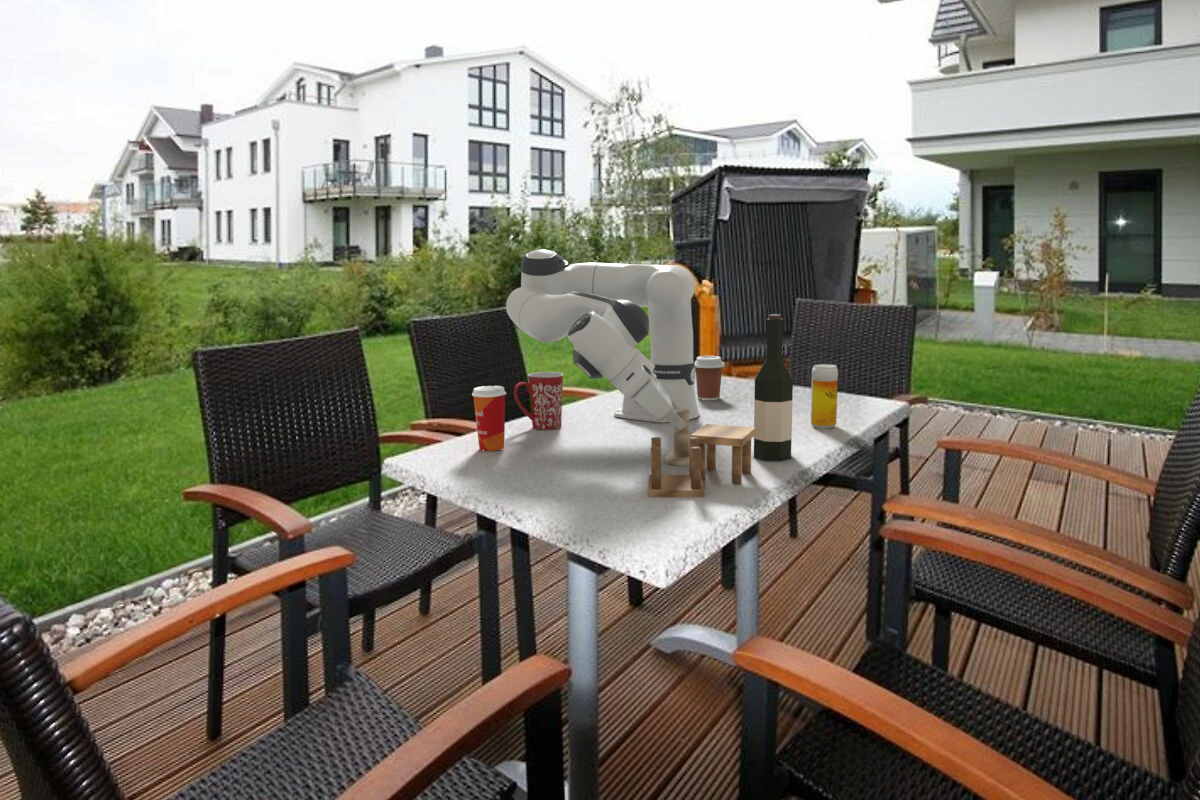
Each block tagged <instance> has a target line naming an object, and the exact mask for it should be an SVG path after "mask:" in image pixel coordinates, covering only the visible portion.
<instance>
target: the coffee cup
mask: <svg viewBox="0 0 1200 800" xmlns="http://www.w3.org/2000/svg"><path fill="white" fill-rule="evenodd" d="M693 362H694V361H693ZM694 363H695V383H696V393H697V399H698V398H699V399H698V400H700V399H705V400H704V401H712V400H711V399H718V398H720V395H721V384H722V372H723V368H724V367H725V362H723V361H722V358H721V356H717V355H716V356H715V355H703V356H702V355H701V356H697V357H696V360H695V362H694ZM706 399H707V400H706ZM718 400H719V399H718Z"/></svg>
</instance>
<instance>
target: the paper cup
mask: <svg viewBox="0 0 1200 800" xmlns="http://www.w3.org/2000/svg"><path fill="white" fill-rule="evenodd" d="M506 394H507V392H506V391H505V387H504V386H502V385H493V386H492V385H486V386H485V385H482V386H477V387H474V388H473V391H472V393H471V395H472V398H473V406H474V414H475V423H476V424H475V425H476V431H477V432H476V433H477V440H478V441H477V442H478V447H479V450H480V449H481V450H484V451H495V452H498V451H497V450H500V451H502V450H501V449H503V448H504V449H505V435H506V434H505V432H506V431H505V428H506V425H505V423H506V421H505V420H506V415H505V413H506V411H505V410H506V407H505V406H506ZM504 449H503V450H504ZM481 450H480V451H481ZM484 451H483V452H484Z"/></svg>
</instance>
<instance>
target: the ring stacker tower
mask: <svg viewBox="0 0 1200 800" xmlns="http://www.w3.org/2000/svg"><path fill="white" fill-rule="evenodd" d="M674 411H675V413H676V414H677V415H678V416H679V417H681V418H682V419H683V420H684V421H685V422H686V426H685V427H684V428H683V429H681V430H680V429H678V428H677V427H676V426H675V425H674V424H673V451H672V452H668V453H667V454H665V464H667V465H669V466H674V467H690V419H689V410H687V409H676V410H674Z"/></svg>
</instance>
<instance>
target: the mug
mask: <svg viewBox="0 0 1200 800" xmlns="http://www.w3.org/2000/svg"><path fill="white" fill-rule="evenodd" d="M527 379H528V382H525V381H521V382H518V383H517V384H515V386H514V389H513V396H514V400H515V402H516V404H517V405H518V407H519V408H520V410H521V411H522V413H524V415H526V417H528V419H530V420H531V422H532V423H531V425H532V427H533V428H534V429H536V430H543V431H545V430H546V431H550V429H551V430H556V429H560V428H561V427H562V415H563V389H564V388H563V383H564V382H563V381H564V380H563V379H564V373H563V372H558V371H537V372H532V373H528V374H527ZM520 387H525V389H527V392H528V393H529V398H530V409H531V413H530V412H529V411H528V410H527V409H526V408H525V407H524V406H523V404H522V403H521V401H520V399H519V393H518V392H519V389H520Z"/></svg>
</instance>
